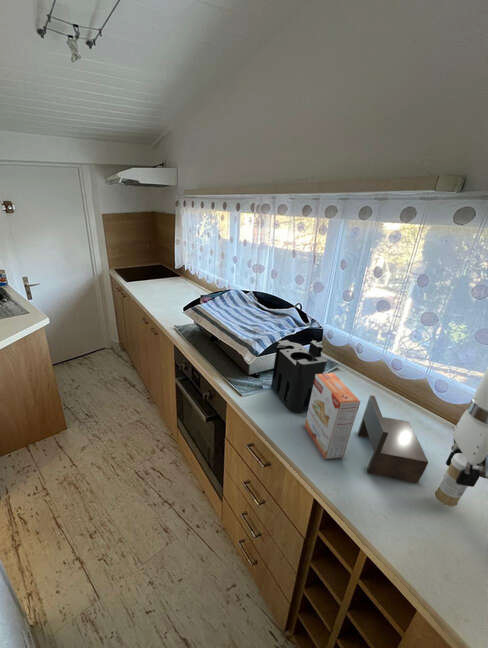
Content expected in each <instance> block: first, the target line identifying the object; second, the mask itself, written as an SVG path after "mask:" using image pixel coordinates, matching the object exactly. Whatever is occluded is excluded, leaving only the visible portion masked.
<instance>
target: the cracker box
mask: <svg viewBox="0 0 488 648" xmlns="http://www.w3.org/2000/svg"><path fill="white" fill-rule="evenodd" d="M360 405H361V400H360V399H359V398H358V397H357V395H355V394H354V393H353V391H352V390H351V389H349V388H348V386H347V385H346V384H345V383H344V382H343V381H342V380H341V379H340V378H339V377H338V376H337V375H336V374H335V372H326V373H325V372H323V374H316V375H315V380H314V384H313V389H312V394H311V399H310V403H309V408H308V411H307V413H306V418H305V423H304V428H305V429H306V431H307V432H308V434H309V436H310V438H311V439H312V441H313V442H314V443H315V447H316V448H317V449H318V451H319V452H320V454H321V455H322V457H323V459H324V460H330V459H341V458H342V459H343V458H344V456H345V452H346V449H347V445H348V443H349V439H350V437H351V433H352V430H353V426H354V424H355V420H356V418H357V414H358V411H359V407H360Z"/></svg>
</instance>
